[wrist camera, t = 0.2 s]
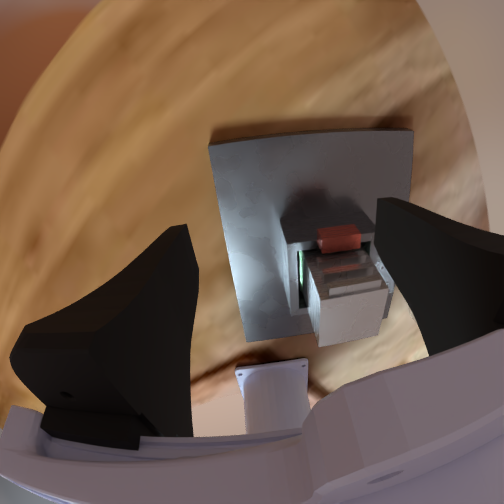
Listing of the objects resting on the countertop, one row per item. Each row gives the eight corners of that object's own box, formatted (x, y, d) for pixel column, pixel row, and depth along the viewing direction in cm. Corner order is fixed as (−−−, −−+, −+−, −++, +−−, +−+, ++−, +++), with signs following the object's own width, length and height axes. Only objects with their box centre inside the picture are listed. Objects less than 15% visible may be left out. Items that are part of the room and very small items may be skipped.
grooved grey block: (347, 271, 23) (379, 335, 18) (297, 279, 23) (316, 348, 18) (351, 219, 21) (392, 279, 15) (294, 226, 21) (319, 292, 15)
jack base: (383, 311, 28) (402, 349, 24) (246, 334, 28) (249, 379, 24) (406, 128, 18) (449, 147, 14) (209, 143, 18) (201, 165, 14)
